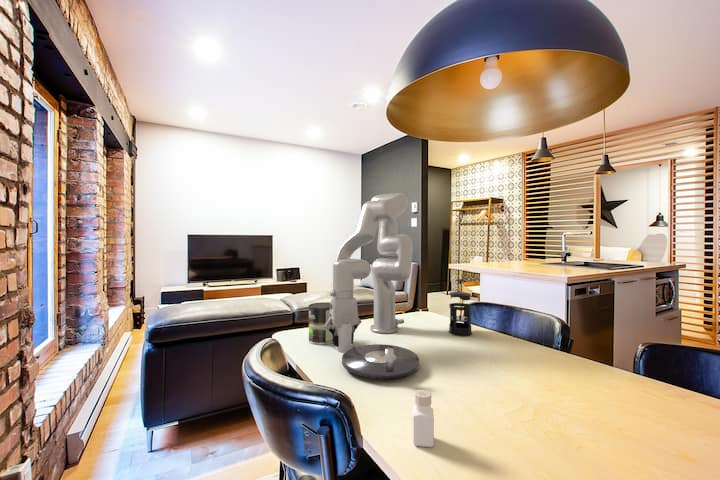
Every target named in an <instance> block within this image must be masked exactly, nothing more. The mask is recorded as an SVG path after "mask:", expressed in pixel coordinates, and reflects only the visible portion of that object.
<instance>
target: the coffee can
mask: <svg viewBox="0 0 720 480" xmlns="http://www.w3.org/2000/svg"><path fill="white" fill-rule="evenodd" d="M330 303H331V302H313V303H310V304H308V342H309V344H313V345H320V346H321V345H328V344H333V334H332V333H331V332H330V331H329V330H327V329H326V328H325V327H324V325H325V324H326V322H327V321H328V319H329V310H330ZM330 327H331V328H332V327H333V325H330Z"/></svg>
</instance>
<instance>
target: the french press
mask: <svg viewBox="0 0 720 480" xmlns="http://www.w3.org/2000/svg"><path fill="white" fill-rule="evenodd" d="M455 281H456V282H459V283H458V284H459V291H452V292H449V295H450V299H452V298H459V302H453V303H449V304H448V305H449V318H450V319H449V329H448V333H449V334H451V335H453V336H456V337H457V336H458V337H470V336H472V335H473V332H472V321H471V320H472V314H471V313H472V305H471V304H470V303H465V302H464V303H462V301H470V300H471V296H472V293H469V292H464V291H462V284H463V283H462V282H466V279H461V278H458V279H455ZM461 300H462V301H461ZM457 311H459V315H457V314H458V313H457ZM462 311H463V315H462V314H461V312H462Z"/></svg>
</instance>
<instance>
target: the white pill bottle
mask: <svg viewBox="0 0 720 480" xmlns="http://www.w3.org/2000/svg"><path fill="white" fill-rule="evenodd" d="M414 404H415V405H413V406H412V443H413V444H412V445H414V446H415V447H424V448H433V447H434V445H435V433H434V432H435V422H434V421H435V417H434V415H435V414H434V408H433V407H431V406H432V393H431V392H430V391H429V390H426V389H418V390H416V391H415V392H414Z"/></svg>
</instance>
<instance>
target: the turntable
mask: <svg viewBox="0 0 720 480" xmlns="http://www.w3.org/2000/svg"><path fill="white" fill-rule="evenodd" d="M341 358H342V359H341V361H342V366H343V367H344V369H345V370H346V371H348V372H349V373H352V374H354V375H357V376H360V377H363V378H369V379H370V378H371V379H396V378H401V377H404V376H408V375H410V374H413V373H414V372H416V371H417V370H418V369H419V367H420V357H419V356H418V355H417V353H415V352H414V351H412V350H410V349H408V348H406V347H402V346H398V345H391V344H379V343H378V344H376V343H375V344H373V343H372V344H364V345H360V346H355V347H353V348H352V347H351V349H350V350H348V351H346V352H343V354H342V357H341Z"/></svg>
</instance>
